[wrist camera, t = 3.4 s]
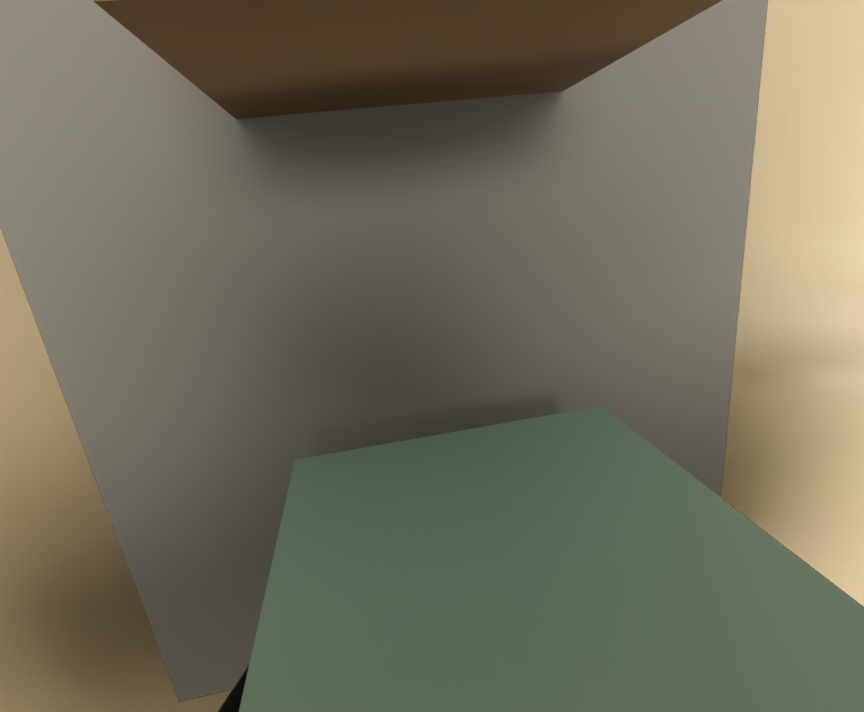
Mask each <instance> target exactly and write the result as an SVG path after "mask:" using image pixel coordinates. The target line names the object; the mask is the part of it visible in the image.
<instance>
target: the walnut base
mask: <svg viewBox="0 0 864 712" xmlns="http://www.w3.org/2000/svg"><path fill="white" fill-rule="evenodd" d="M720 1H722V0H93V2H95V3H96V4H97V5H98V6H99V7H101V8H102V9H103V10H104V11H105V12H107V13H108V14H109V15H110V16H112V17H113V18H114V19H115V20H116V21H118V22H119V23H120V24H121V25H122V26H124V27H125V28H126V29H127V30H129V31H130V32H131V33H132V34H133V35H135V36H136V37H137V38H138V39H139V40H141V41H142V42H143V43H144V44H145V45H147V46H148V47H149V48H150V49H152V50H153V51H154V52H155V53H156V54H158V55H159V56H160V57H161V58H162V59H164V60H165V61H166V62H167V63H168V64H170V65H171V66H172V67H173V68H175V69H176V70H177V71H178V72H179V73H181V74H182V75H183V76H184V77H185V78H187V79H188V80H189V81H190V82H191V83H193V84H194V85H195V86H196V87H198V88H199V89H200V90H201V91H202V92H204V93H205V94H206V95H207V96H208V97H210V98H211V99H212V100H213V101H214V102H216V103H217V104H218V105H219V106H221V107H222V108H223V109H224V110H225V111H227V112H228V113H229V114H230V115H231V116H233V117H234V118H235V119H242V118H254V117H266V116H278V115H289V114H301V113H313V112H325V111H337V110H348V109H360V108H372V107H384V106H395V105H407V104H419V103H431V102H442V101H454V100H466V99H478V98H489V97H501V96H513V95H525V94H537V93H548V92H560V91H564V90H566V89H568V88H570V87H571V86H573V85H575V84H577V83H578V82H580V81H582V80H584V79H585V78H587V77H589V76H591V75H592V74H594V73H596V72H598V71H599V70H601V69H603V68H605V67H606V66H608V65H610V64H612V63H613V62H615V61H617V60H619V59H620V58H622V57H624V56H626V55H627V54H629V53H631V52H633V51H634V50H636V49H638V48H640V47H642V46H643V45H645V44H647V43H649V42H650V41H652V40H654V39H656V38H657V37H659V36H661V35H663V34H664V33H666V32H668V31H670V30H671V29H673V28H675V27H677V26H678V25H680V24H682V23H684V22H685V21H687V20H689V19H691V18H692V17H694V16H696V15H698V14H699V13H701V12H703V11H705V10H706V9H708V8H710V7H712V6H713V5H715V4H717V3H719V2H720Z"/></svg>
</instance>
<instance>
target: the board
mask: <svg viewBox="0 0 864 712" xmlns="http://www.w3.org/2000/svg"><path fill="white" fill-rule="evenodd" d="M767 6H768V0H722V1H720V2H719V3H717V4H715V5H713V6H712V7H710V8H708V9H706V10H705V11H703V12H701V13H699V14H698V15H696V16H694V17H692V18H691V19H689V20H687V21H685V22H684V23H682V24H680V25H678V26H677V27H675V28H673V29H671V30H670V31H668V32H666V33H664V34H663V35H661V36H659V37H657V38H656V39H654V40H652V41H650V42H649V43H647V44H645V45H643V46H642V47H640V48H638V49H636V50H634V51H633V52H631V53H629V54H627V55H626V56H624V57H622V58H620V59H619V60H617V61H615V62H613V63H612V64H610V65H608V66H606V67H605V68H603V69H601V70H599V71H598V72H596V73H594V74H592V75H591V76H589V77H587V78H585V79H584V80H582V81H580V82H578V83H577V84H575V85H573V86H571V87H570V88H568V89H566V90H564V91H560V92H548V93H537V94H525V95H513V96H501V97H489V98H478V99H466V100H454V101H442V102H431V103H419V104H407V105H395V106H384V107H372V108H360V109H348V110H337V111H325V112H313V113H301V114H289V115H278V116H266V117H254V118H242V119H235V118H234V117H233V116H231V115H230V114H229V113H228V112H227V111H225V110H224V109H223V108H222V107H221V106H219V105H218V104H217V103H216V102H214V101H213V100H212V99H211V98H210V97H208V96H207V95H206V94H205V93H204V92H202V91H201V90H200V89H199V88H198V87H196V86H195V85H194V84H193V83H191V82H190V81H189V80H188V79H187V78H185V77H184V76H183V75H182V74H181V73H179V72H178V71H177V70H176V69H175V68H173V67H172V66H171V65H170V64H168V63H167V62H166V61H165V60H164V59H162V58H161V57H160V56H159V55H158V54H156V53H155V52H154V51H153V50H152V49H150V48H149V47H148V46H147V45H145V44H144V43H143V42H142V41H141V40H139V39H138V38H137V37H136V36H135V35H133V34H132V33H131V32H130V31H129V30H127V29H126V28H125V27H124V26H122V25H121V24H120V23H119V22H118V21H116V20H115V19H114V18H113V17H112V16H110V15H109V14H108V13H107V12H105V11H104V10H103V9H102V8H101V7H99V6H98V5H97V4H96V3H95V2H93V0H0V228H1V231H2V233H3V236H4V239H5V241H6V244H7V247H8V249H9V252H10V255H11V257H12V260H13V262H14V265H15V268H16V270H17V273H18V276H19V278H20V281H21V284H22V286H23V289H24V292H25V294H26V297H27V300H28V302H29V305H30V308H31V310H32V313H33V316H34V318H35V321H36V324H37V326H38V329H39V332H40V334H41V337H42V340H43V342H44V345H45V347H46V350H47V353H48V355H49V358H50V361H51V363H52V366H53V369H54V371H55V374H56V377H57V379H58V382H59V385H60V387H61V390H62V393H63V395H64V398H65V401H66V403H67V406H68V409H69V411H70V414H71V417H72V419H73V422H74V424H75V427H76V430H77V432H78V435H79V438H80V440H81V443H82V446H83V448H84V451H85V454H86V456H87V459H88V462H89V464H90V467H91V470H92V472H93V475H94V478H95V480H96V483H97V486H98V488H99V491H100V494H101V496H102V499H103V502H104V504H105V507H106V509H107V512H108V515H109V517H110V520H111V523H112V525H113V528H114V531H115V533H116V536H117V539H118V541H119V544H120V547H121V549H122V552H123V555H124V557H125V560H126V563H127V565H128V568H129V571H130V573H131V576H132V579H133V581H134V584H135V586H136V589H137V592H138V594H139V597H140V600H141V602H142V605H143V608H144V610H145V613H146V616H147V618H148V621H149V624H150V626H151V629H152V632H153V634H154V637H155V640H156V642H157V645H158V648H159V650H160V653H161V656H162V658H163V661H164V663H165V666H166V669H167V671H168V674H169V677H170V679H171V682H172V685H173V687H174V690H175V693H176V695H177V698H178V701H179V702H181V701H186V700H190V699H194V698H199V697H203V696H207V695H211V694H216V693H220V692H224V691H229V690H233V688H234V687H235V685H236V684H237V682H238V680H239V679H240V677H241V676H242V674H243V673H244V671H245V670H246V668H247V667H248V665H249V664H250V659H251V655H252V650H253V646H254V641H255V637H256V632H257V628H258V623H259V619H260V614H261V610H262V605H263V600H264V596H265V591H266V587H267V583H268V578H269V573H270V569H271V564H272V560H273V555H274V551H275V546H276V542H277V537H278V533H279V528H280V524H281V519H282V515H283V510H284V506H285V501H286V497H287V492H288V488H289V483H290V479H291V474H292V470H293V465H294V461H295V460H297V459H302V458H308V457H314V456H319V455H325V454H331V453H336V452H342V451H348V450H353V449H359V448H365V447H370V446H376V445H382V444H388V443H393V442H399V441H405V440H410V439H416V438H422V437H427V436H433V435H439V434H444V433H450V432H456V431H461V430H467V429H473V428H478V427H484V426H490V425H496V424H501V423H507V422H513V421H518V420H524V419H530V418H535V417H541V416H547V415H552V414H558V413H564V412H569V411H575V410H581V409H586V408H592V407H598V406H602V407H603V408H605V409H606V410H607V411H609V412H610V413H611V414H613V415H614V416H615V417H616V418H618V419H619V420H620V421H622V422H623V423H624V424H626V425H627V426H628V427H630V428H631V429H632V430H633V431H635V432H636V433H637V434H639V435H640V436H641V437H643V438H644V439H645V440H647V441H648V442H649V443H650V444H652V445H653V446H654V447H656V448H657V449H658V450H660V451H661V452H662V453H663V454H665V455H666V456H667V457H669V458H670V459H671V460H673V461H674V462H675V463H677V464H678V465H679V466H680V467H682V468H683V469H684V470H686V471H687V472H688V473H690V474H691V475H692V476H694V477H695V478H696V479H697V480H699V481H700V482H701V483H703V484H704V485H705V486H707V487H708V488H709V489H711V490H712V491H713V492H714V493H716V494H717V495H718V496H720V497H721V488H722V478H723V467H724V457H725V446H726V436H727V425H728V415H729V404H730V394H731V383H732V373H733V362H734V352H735V341H736V331H737V320H738V310H739V299H740V289H741V278H742V268H743V257H744V247H745V236H746V226H747V215H748V205H749V194H750V184H751V174H752V163H753V153H754V142H755V132H756V121H757V111H758V100H759V90H760V79H761V69H762V58H763V48H764V37H765V27H766V16H767Z"/></svg>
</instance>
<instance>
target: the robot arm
mask: <svg viewBox="0 0 864 712" xmlns="http://www.w3.org/2000/svg"><path fill="white" fill-rule="evenodd" d="M248 668H249V665H248V667H247V668H246V670H245V671H244V673H243V674H242V676H241V677H240V679H239V680H238V682H237V684H236V685H235V687H234V688H233V690H232V691H231V693H230V694H229V696H228V697H227V699H226V700H225V702H224V703H223V705H222V706H221V708H220V709H219V711H218V712H239V709H240V704H241V700H242V695H243V691H244V686H245V682H246V677H247V673H248Z"/></svg>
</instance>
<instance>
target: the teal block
mask: <svg viewBox="0 0 864 712" xmlns="http://www.w3.org/2000/svg"><path fill="white" fill-rule="evenodd" d="M239 712H864V607H863V606H862V605H861V604H859V603H858V602H857V601H855V600H854V599H853V598H852V597H850V596H849V595H848V594H846V593H845V592H844V591H842V590H841V589H840V588H839V587H837V586H836V585H835V584H833V583H832V582H831V581H829V580H828V579H827V578H825V577H824V576H823V575H822V574H820V573H819V572H818V571H816V570H815V569H814V568H812V567H811V566H810V565H808V564H807V563H806V562H805V561H803V560H802V559H801V558H799V557H798V556H797V555H795V554H794V553H793V552H791V551H790V550H789V549H788V548H786V547H785V546H784V545H782V544H781V543H780V542H778V541H777V540H776V539H775V538H773V537H772V536H771V535H769V534H768V533H767V532H765V531H764V530H763V529H761V528H760V527H759V526H758V525H756V524H755V523H754V522H752V521H751V520H750V519H748V518H747V517H746V516H744V515H743V514H742V513H741V512H739V511H738V510H737V509H735V508H734V507H733V506H731V505H730V504H729V503H727V502H726V501H725V500H724V499H722V498H721V497H720V496H718V495H717V494H716V493H714V492H713V491H712V490H711V489H709V488H708V487H707V486H705V485H704V484H703V483H701V482H700V481H699V480H697V479H696V478H695V477H694V476H692V475H691V474H690V473H688V472H687V471H686V470H684V469H683V468H682V467H680V466H679V465H678V464H677V463H675V462H674V461H673V460H671V459H670V458H669V457H667V456H666V455H665V454H663V453H662V452H661V451H660V450H658V449H657V448H656V447H654V446H653V445H652V444H650V443H649V442H648V441H647V440H645V439H644V438H643V437H641V436H640V435H639V434H637V433H636V432H635V431H633V430H632V429H631V428H630V427H628V426H627V425H626V424H624V423H623V422H622V421H620V420H619V419H618V418H616V417H615V416H614V415H613V414H611V413H610V412H609V411H607V410H606V409H605V408H603V407H602V406H598V407H592V408H586V409H581V410H575V411H569V412H564V413H558V414H552V415H547V416H541V417H535V418H530V419H524V420H518V421H513V422H507V423H501V424H496V425H490V426H484V427H478V428H473V429H467V430H461V431H456V432H450V433H444V434H439V435H433V436H427V437H422V438H416V439H410V440H405V441H399V442H393V443H388V444H382V445H376V446H370V447H365V448H359V449H353V450H348V451H342V452H336V453H331V454H325V455H319V456H314V457H308V458H302V459H297V460H295V461H294V465H293V470H292V474H291V479H290V483H289V488H288V492H287V497H286V501H285V506H284V510H283V515H282V519H281V524H280V528H279V533H278V537H277V542H276V546H275V551H274V555H273V560H272V564H271V569H270V573H269V578H268V583H267V587H266V591H265V596H264V600H263V605H262V610H261V614H260V619H259V623H258V628H257V632H256V637H255V641H254V646H253V650H252V655H251V659H250V664H249V668H248V673H247V677H246V682H245V686H244V691H243V695H242V700H241V704H240V709H239Z"/></svg>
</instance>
